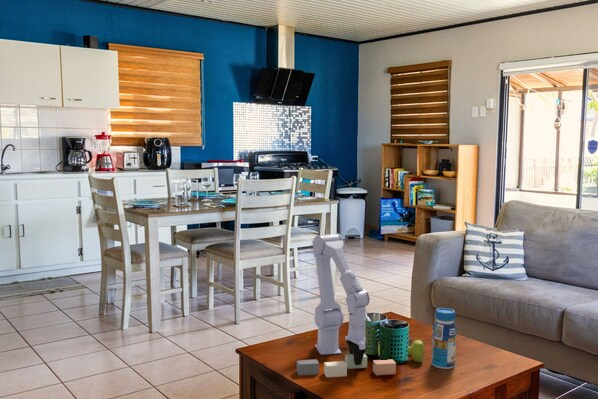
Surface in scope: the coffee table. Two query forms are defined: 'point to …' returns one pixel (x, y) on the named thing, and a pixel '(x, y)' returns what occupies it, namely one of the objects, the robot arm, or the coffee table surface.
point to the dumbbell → (413, 350)
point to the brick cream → (335, 369)
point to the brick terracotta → (384, 367)
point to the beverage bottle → (444, 339)
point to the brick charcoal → (307, 367)
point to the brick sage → (350, 363)
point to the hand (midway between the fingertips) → (356, 362)
